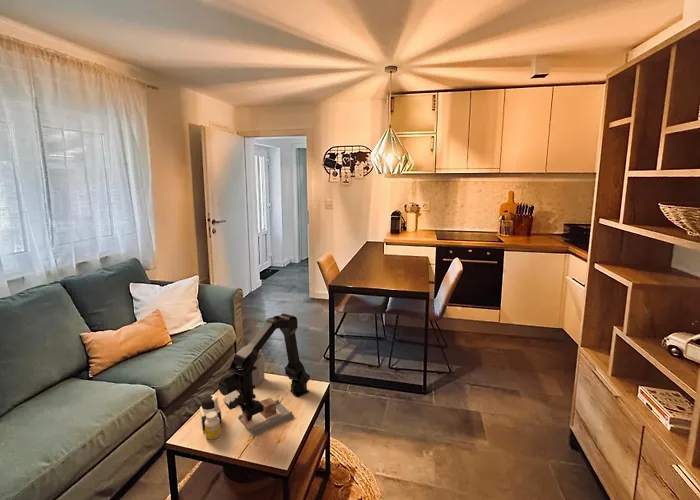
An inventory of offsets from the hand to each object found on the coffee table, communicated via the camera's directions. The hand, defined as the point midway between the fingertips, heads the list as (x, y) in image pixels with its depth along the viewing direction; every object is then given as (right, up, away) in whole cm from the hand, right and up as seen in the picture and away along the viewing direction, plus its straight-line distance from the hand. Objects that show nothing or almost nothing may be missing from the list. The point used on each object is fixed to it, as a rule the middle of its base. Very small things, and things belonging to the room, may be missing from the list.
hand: (247, 419), depth 149 cm
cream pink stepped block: (+4, -1, +4) cm, 6 cm away
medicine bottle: (-15, -3, +1) cm, 15 cm away
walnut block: (+7, 0, +6) cm, 9 cm away
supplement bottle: (-11, -4, -6) cm, 14 cm away
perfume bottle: (-5, +3, +33) cm, 34 cm away
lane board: (+6, -2, +6) cm, 9 cm away
